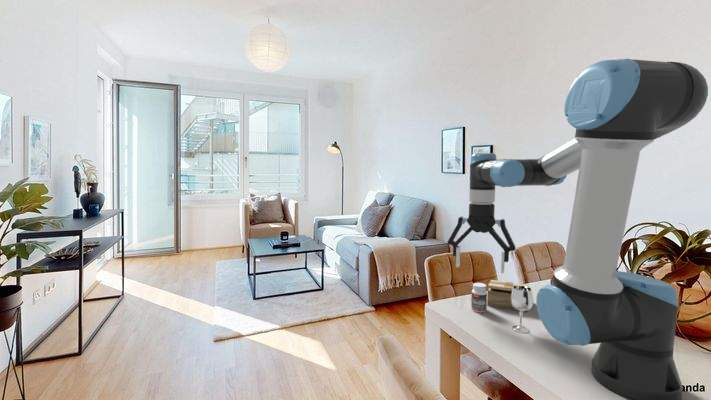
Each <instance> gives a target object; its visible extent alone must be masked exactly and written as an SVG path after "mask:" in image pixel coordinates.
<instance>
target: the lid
mask: <svg viewBox="0 0 711 400" xmlns="http://www.w3.org/2000/svg"><path fill="white" fill-rule="evenodd" d="M514 286H526V287H529V284H525V283H518V282H512V281H502V280H501V281H500V280H495V279H490V281H489V282H488V285H487V288H488V289H489V288H494V289H501V290H508V291H512V289H513V287H514ZM529 288H530V287H529Z"/></svg>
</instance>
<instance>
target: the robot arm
mask: <svg viewBox="0 0 711 400" xmlns="http://www.w3.org/2000/svg"><path fill="white" fill-rule="evenodd" d="M708 96H709V85H708V82H707V79H706V78H705V76H704V75H703V74H702V72H700V70H699V69H697V67H694V66H692V65H690V64H687V63H685V62H684V63H683V62H679V61H657V60H655V61H654V60H643V59H631V58H619V59H618V58H617V59H606V60H604V59H603V60H600V61H597V62H594V63H593V64H591V65H589V66H588V67H586V68H585V69H584V70H583V71H581V73H580V74H579V75H578V76H577V77H576V78H575V79H574V80H573V82H572V84H571V85H570V87H569V89H568V91H567V94H566V97H565V101H564V107H563V109H564V110H563V111H564V115H565V117H567V118H566V121H567V122H568V124H569V125H570V126H572V127H573V128H574V129H575V135H574V137H573V138H571V139H569V140H568V141H567V142H565V143H563V144H561V145H560V146H558V147H557V148H555V149H553V150H551V151H550V152H548V153H546V154H544V155H543V156H541V157H539V158H536V159H535V158H529V159H528V158H527V159H523V158H522V159H518V158H514V159H513V158H502V159H501V158H500V159H497V155H496V154H495V152H494V153H493V152H488V153H486V152H483V153H482V152H480V153H479V152H478V153H473V154H471V156H470V164H469V199H468V200H469V202H470V203H469V204H468V217H464V216H462V215H461V216H459V217H458V219H457V224H456V226H455V228H454V229H453V231H452V233H451V235H450V237H449V238H448V240H447V244H448V245H450V246H452V256H453V257H456V258H455V267H456V268H459V267H460V266H461V246H460V243H461V242H462V241H464V239H465V238H466V237H467V236H468V235H469V234H471V233H472V232H475V233H481V234H482V233H483V234H486V233H489V235H491V237H492V238H494V240H495V241H496V242H497V244H498V245H499V246H500V247H501V249H502V251H501V259H500V262H501V264H500V273H501V274H504V273H505V263H508V262H509V260H510V257H509V255H510V252H514V251H515V250H516V244H515V243H514V240H513V239H512V236H511V234H510V233H509V231H508V227H506V220H505V219H504V218H502V219H495V207H496V206H495V204H494V203H495V201H496V186H498V187H500V188H501V187H502V188H512V187H520V186H524V187H525V186H531V187H533V186H546V187H548V186H549V187H550V186H557V185H560V184H562V183H564V181H565V179H567V176H568V175H570V174H572V173H575V172H576V171H578V175H577V181H576V188H575V194H574V200H573V205H572V213H571V217H570V219H571V220H570V225H569V231H568V235H567V236H568V238H567V243H566V249H565V256H564V262H563V265H560V266H559V267H557V268H555V269H554V271H553V276H552V277H553V281H552V285H551V284H546V285H544V286H542V288H540V289H539V290H538V292H537V294H536V299H535V300H536V301H535V302H536V304H535V305H536V311H537V314H538V317H539V319H540V320H541V323H542V325H543V327H544V329H545V330H546V331H547V332H548V334H549V335H550V336H551V337H552V338H553V339H555V340H556V341H557V342H559V343H561V344H564V345H566V346H582V347H584V346H588V345H595V344H599V346H598V347H597V350H596V351H595V353H594V354H593V357H592V359H591V365H590V366H591V368H590V372H591V374H592V377H593V378H594V379H595V380H596V381H597V382H599V384H601V385H602V386H604V387H605V388H606V389H608V390H610V391H612V392H613V393H616V394H618V395H620V396H623V397H625V398H628V399H630V400H633V399H634V400H682V397H683V396H682V395H683V384H682V380H681V377H680V374H679V371H678V369H677V365H676V362H675V359H674V350H675V349H674V347H675V338H676V337H675V336H676V326H677V315H678V308H679V305H680V304H679V303H678V301H679V299H678V297H679V296H678V290H677V288H676V287H675V286H673V284H670V283H669V282H666V281H663V280H660V279H657V278H654V277H650V276H646V275H641V274H638V273H633V272H627V271H626V272H625V271H618V270H617V268H618V265H619V261H620V260H619V259H620V253H621V250H622V245H623V239H624V235H625V229H626V224H627V219H628V216H629V215H628V214H629V211H630V210H629V208H630V205H631V199H632V194H633V189H634V184H635V179H636V174H637V169H638V164H639V160H640V154H641V151H642V150H643V149H644V148H646V147H648V146H649V145H651V144H653V143H654V141H655V140H656V139H658V138H661V137H663V136H665V135H668V134H670V133H672V132H673V131H676V130H677V129H680V128H681V127H683V126H685V125H687V124H689V123H690V122H691V121H692V120H694V119H695V118H697V116H698V115H699V113H700V112H701V111H702V110H703V108H704V107H705V105H706V103H707V101H708V100H707V99H708ZM465 223H467V224H468V225H469V227H468V228H467V229H466V230H465V232H464V233H462V235H460V237H459V238H458V239H456V241H455V238H456V237H457V235H458V233H459V232H460V229H461V228H462V226H463V225H464V224H465ZM495 225H497V226H498V227H499V228H500V229H501V231H502V234H503V236H504V237H505V240H506V242H507V243H506V242H505V241H504V240H503V239H502V238H501V236H500V235H499V234H498V233H497V232H496V230H495V228H493V227H494V226H495Z"/></svg>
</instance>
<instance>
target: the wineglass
mask: <svg viewBox="0 0 711 400" xmlns="http://www.w3.org/2000/svg"><path fill="white" fill-rule="evenodd" d="M511 304H512V306H513V307H514V308H515V309H517V310H516V311H519V310H520V311H519V314H518V315H519V324H518V325H513V326H512V327H511V329H512V330H513V331H514V332H517V333H520V334H528V333H529V332H530V330H529V328H528V327H526V326H523V321H522V320H523V316H524V312H525V311H527V312H528V311H530V310H531V309H532V307H533V304H534V295H533V291H532V288H531V287H526V286H514V287H513V289H512V292H511Z"/></svg>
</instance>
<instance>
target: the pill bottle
mask: <svg viewBox="0 0 711 400" xmlns="http://www.w3.org/2000/svg"><path fill="white" fill-rule="evenodd" d="M472 288H473V289H472V290H471V298H470V299H471V300H470V301H471V303H470V309H471V310H472V312H475V313H481V314H482V312H483V313H486V312H487V311H488V310H487V307H488V305H487V298H488V290H487V284H485V283H484V282H483V283H482V282H474V283H473V284H472Z"/></svg>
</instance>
